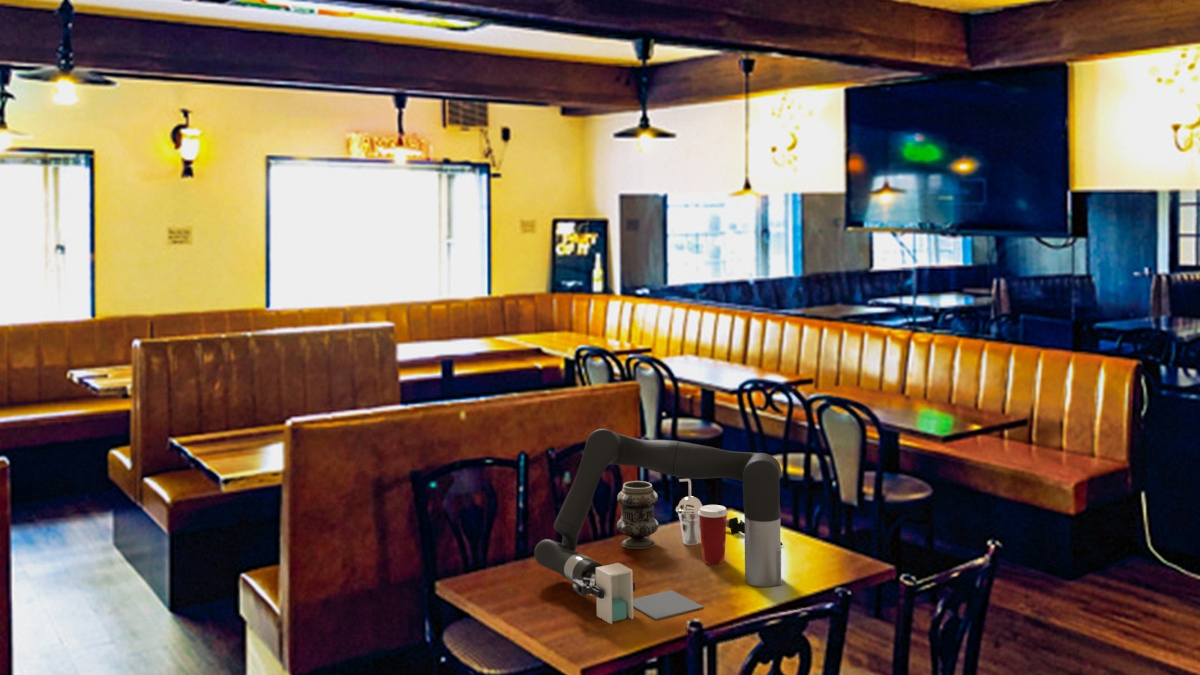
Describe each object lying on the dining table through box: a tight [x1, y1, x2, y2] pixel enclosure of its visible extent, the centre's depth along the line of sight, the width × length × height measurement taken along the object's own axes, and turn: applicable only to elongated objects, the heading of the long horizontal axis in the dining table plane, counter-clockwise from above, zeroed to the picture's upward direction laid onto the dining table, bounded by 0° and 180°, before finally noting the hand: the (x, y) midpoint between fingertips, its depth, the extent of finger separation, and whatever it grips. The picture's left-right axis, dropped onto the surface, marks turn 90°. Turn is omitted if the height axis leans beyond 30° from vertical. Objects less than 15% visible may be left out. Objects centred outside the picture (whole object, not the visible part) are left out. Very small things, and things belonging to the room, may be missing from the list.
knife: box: [726, 516, 784, 546], centre depth 321 cm, size 31×3×4 cm, turn 37°
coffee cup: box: [698, 504, 729, 565], centre depth 298 cm, size 8×8×15 cm
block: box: [612, 597, 627, 622], centre depth 259 cm, size 4×4×4 cm
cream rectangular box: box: [595, 562, 634, 625], centre depth 258 cm, size 6×6×12 cm
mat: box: [633, 589, 704, 621], centre depth 266 cm, size 14×14×1 cm
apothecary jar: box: [616, 480, 659, 550], centre depth 314 cm, size 12×12×18 cm
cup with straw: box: [675, 478, 703, 546], centre depth 314 cm, size 8×9×20 cm
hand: (618, 591), depth 257 cm, fingers open, 8 cm apart
